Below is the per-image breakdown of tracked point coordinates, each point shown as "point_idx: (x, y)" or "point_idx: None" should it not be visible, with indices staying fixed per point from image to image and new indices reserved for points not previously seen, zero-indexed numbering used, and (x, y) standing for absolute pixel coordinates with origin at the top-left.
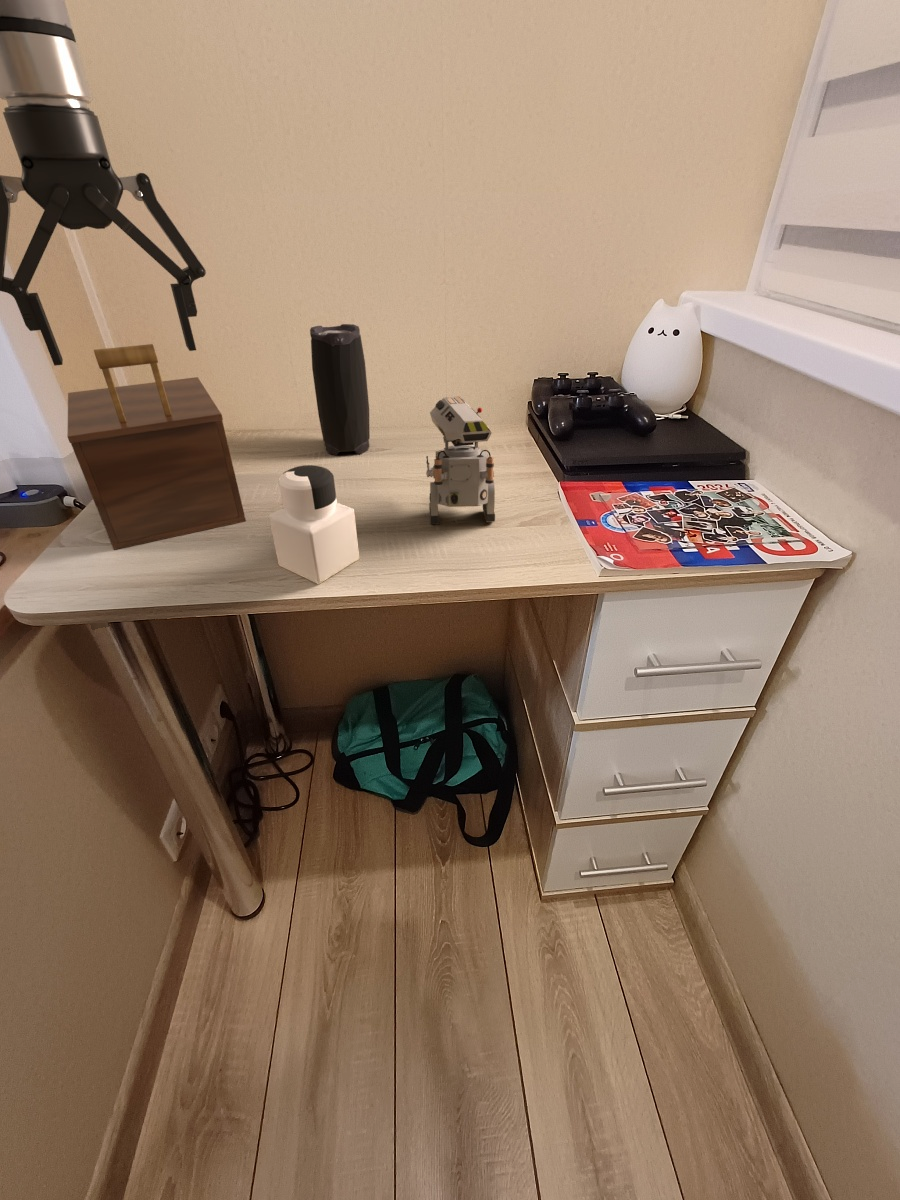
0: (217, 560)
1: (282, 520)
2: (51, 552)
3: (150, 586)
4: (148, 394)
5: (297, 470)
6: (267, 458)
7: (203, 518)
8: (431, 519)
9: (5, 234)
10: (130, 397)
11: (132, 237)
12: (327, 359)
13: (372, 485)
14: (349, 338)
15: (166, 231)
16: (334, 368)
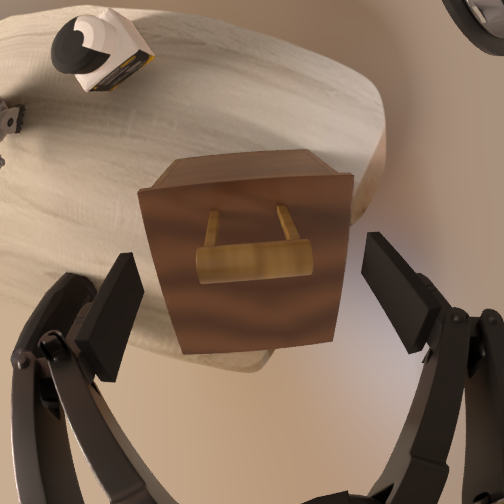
0: (211, 87)
1: (126, 34)
2: (357, 172)
3: (277, 65)
4: (243, 312)
5: (78, 47)
6: (150, 296)
7: (215, 157)
8: (21, 105)
9: (501, 412)
10: (266, 308)
11: (129, 469)
12: None
13: (55, 201)
14: (14, 352)
15: (35, 456)
16: (39, 331)
